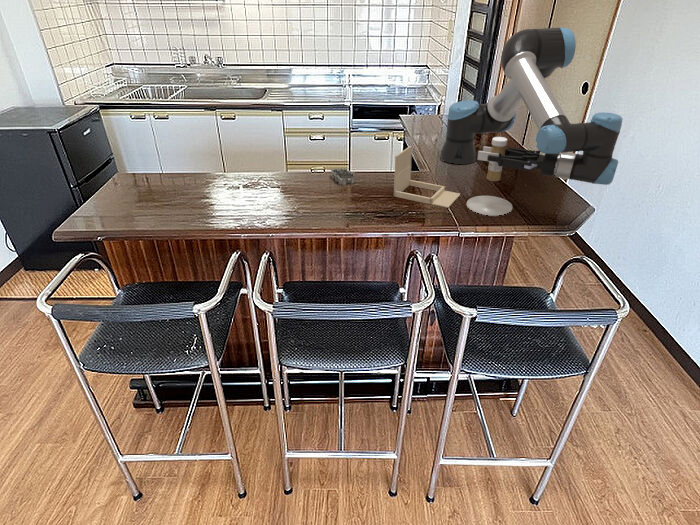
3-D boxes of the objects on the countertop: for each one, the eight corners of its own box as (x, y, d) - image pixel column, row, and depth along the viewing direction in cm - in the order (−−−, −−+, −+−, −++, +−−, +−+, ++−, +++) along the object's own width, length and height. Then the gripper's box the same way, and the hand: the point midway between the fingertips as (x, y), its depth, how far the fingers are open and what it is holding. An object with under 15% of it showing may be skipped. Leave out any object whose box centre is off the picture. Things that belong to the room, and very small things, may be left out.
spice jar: (484, 176, 146) (490, 136, 138) (498, 176, 146) (505, 136, 138) (488, 181, 142) (494, 140, 135) (502, 181, 142) (509, 140, 134)
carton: (460, 194, 158) (465, 154, 149) (448, 208, 149) (452, 165, 140) (408, 184, 167) (410, 145, 159) (393, 196, 158) (395, 155, 150)
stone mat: (487, 193, 158) (487, 192, 157) (521, 208, 147) (522, 206, 147) (457, 204, 151) (457, 202, 150) (491, 220, 140) (491, 218, 140)
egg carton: (357, 183, 169) (357, 173, 167) (338, 186, 167) (338, 176, 165) (347, 174, 178) (347, 164, 175) (330, 177, 176) (329, 167, 173)
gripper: (549, 186, 127) (470, 172, 138) (559, 167, 140) (486, 156, 150) (555, 161, 123) (473, 149, 133) (565, 144, 136) (490, 134, 146)
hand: (480, 152), depth 142 cm, fingers closed on spice jar, 4 cm apart
